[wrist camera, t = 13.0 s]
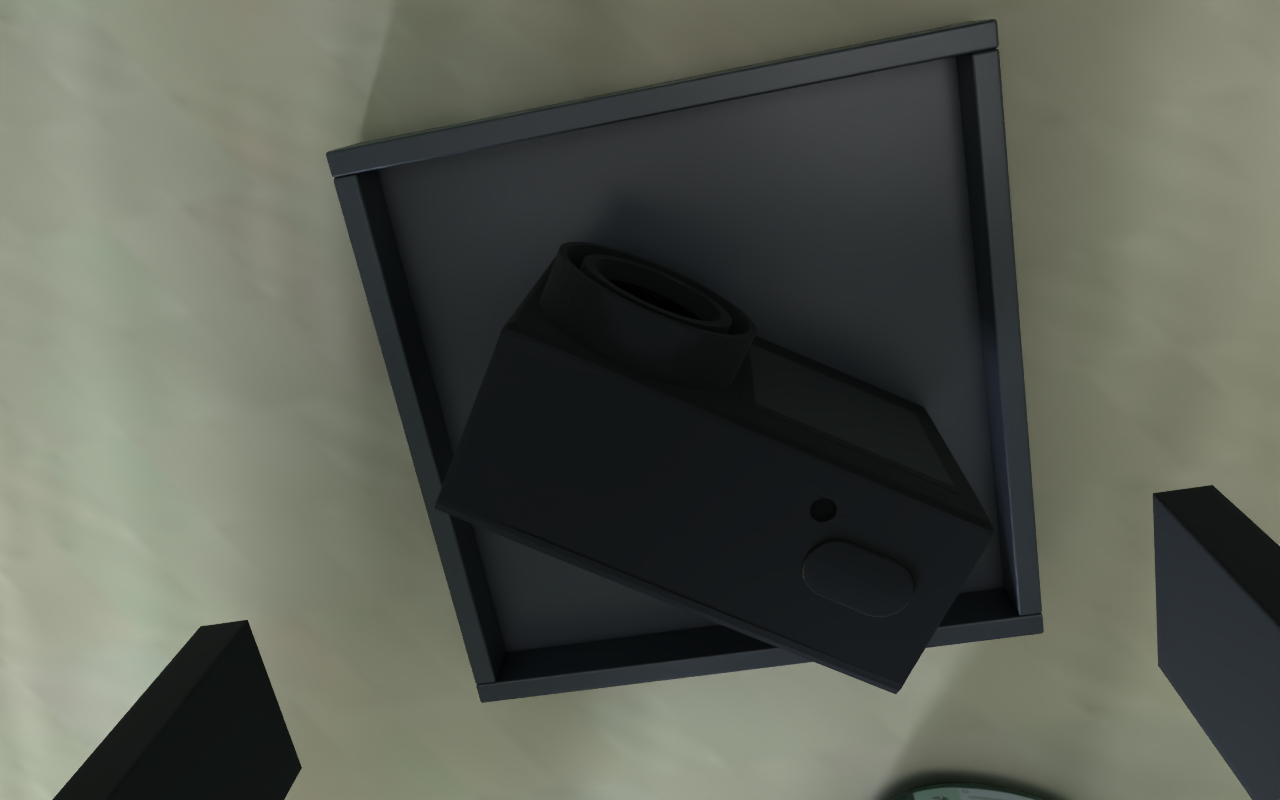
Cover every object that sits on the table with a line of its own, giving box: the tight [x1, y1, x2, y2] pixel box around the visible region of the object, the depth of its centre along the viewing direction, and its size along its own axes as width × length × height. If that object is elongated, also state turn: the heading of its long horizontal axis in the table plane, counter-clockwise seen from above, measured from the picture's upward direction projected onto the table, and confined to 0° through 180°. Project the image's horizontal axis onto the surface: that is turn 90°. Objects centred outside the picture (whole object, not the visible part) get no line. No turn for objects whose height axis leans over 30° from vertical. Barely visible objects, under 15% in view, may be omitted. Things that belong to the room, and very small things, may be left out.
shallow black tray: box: [326, 19, 1044, 703], centre depth 26 cm, size 15×15×2 cm
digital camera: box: [435, 242, 994, 694], centre depth 23 cm, size 10×5×7 cm, turn 67°
